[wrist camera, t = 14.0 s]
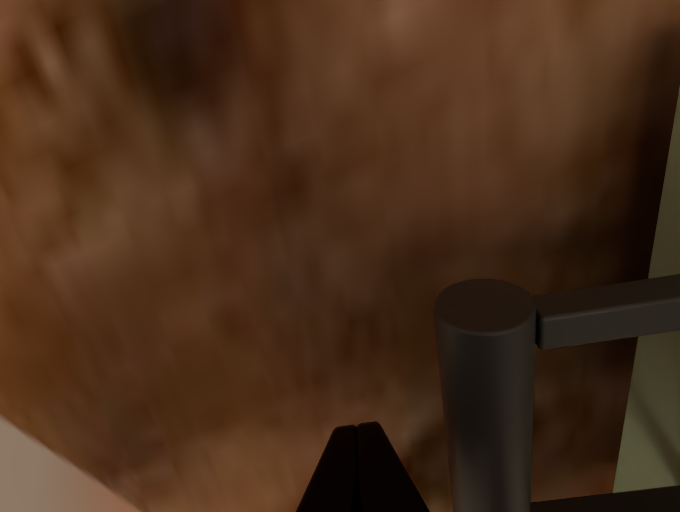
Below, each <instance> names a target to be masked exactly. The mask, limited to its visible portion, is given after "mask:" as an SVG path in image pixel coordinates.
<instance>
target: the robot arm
mask: <svg viewBox="0 0 680 512" xmlns="http://www.w3.org/2000/svg"><path fill="white" fill-rule="evenodd" d="M296 512H430V511H429V510H428V508H427V506H426V504H425V503H424V501H423V499H422V497H421V496H420V494H419V492H418V490H417V489H416V487H415V485H414V483H413V481H412V480H411V478H410V476H409V474H408V473H407V471H406V469H405V467H404V466H403V464H402V462H401V460H400V459H399V457H398V455H397V453H396V452H395V450H394V448H393V446H392V445H391V443H390V441H389V439H388V437H387V436H386V434H385V432H384V430H383V429H382V427H381V425H380V424H379V423H378V422H376V421H374V422H367V423H361V424H359V425H358V426H357V427H356V426H355V425H346V426H339V427H336V428H335V429H334V430H333V432H332V434H331V437H330V439H329V441H328V443H327V445H326V447H325V450H324V452H323V454H322V456H321V458H320V460H319V463H318V465H317V467H316V469H315V471H314V473H313V476H312V478H311V480H310V482H309V484H308V486H307V489H306V491H305V493H304V495H303V497H302V499H301V502H300V504H299V506H298V508H297V510H296Z"/></svg>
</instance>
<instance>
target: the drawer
mask: <svg viewBox="0 0 680 512" xmlns="http://www.w3.org/2000/svg"><path fill="white" fill-rule="evenodd" d="M434 318H435V329H436V339H437V349H438V359H439V369H440V380H441V390H442V400H443V410H444V420H445V431H446V441H447V451H448V461H449V471H450V482H451V492H452V502H453V512H680V87H679V93H678V99H677V105H676V111H675V117H674V123H673V129H672V135H671V141H670V147H669V153H668V159H667V166H666V172H665V178H664V184H663V190H662V196H661V202H660V208H659V214H658V220H657V226H656V232H655V238H654V244H653V251H652V257H651V263H650V269H649V275H648V279H643V280H636V281H630V282H623V283H616V284H610V285H603V286H597V287H590V288H583V289H577V290H570V291H564V292H557V293H551V294H544V295H537V296H531V295H530V294H529V293H528V292H527V291H526V290H524V289H523V288H521V287H519V286H517V285H515V284H512V283H510V282H506V281H502V280H496V279H471V280H465V281H461V282H458V283H455V284H453V285H451V286H449V287H447V288H445V289H444V290H443V291H442V292H441V293H440V294H439V295H438V296H437V298H436V300H435V302H434ZM631 337H638V342H637V348H636V354H635V360H634V366H633V372H632V378H631V384H630V390H629V396H628V402H627V408H626V414H625V421H624V427H623V433H622V439H621V445H620V451H619V457H618V463H617V469H616V475H615V481H614V487H613V493H609V494H600V495H592V496H583V497H575V498H566V499H558V500H549V501H541V502H532V503H530V497H531V465H532V432H533V400H534V368H535V343H536V344H537V346H538V347H539V349H541V350H547V349H554V348H561V347H568V346H575V345H582V344H589V343H596V342H603V341H610V340H617V339H624V338H631Z"/></svg>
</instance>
